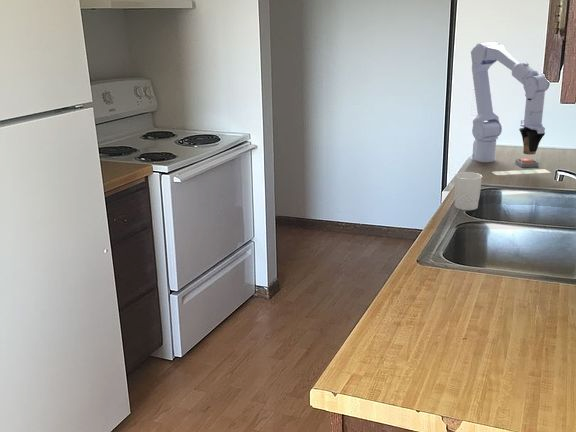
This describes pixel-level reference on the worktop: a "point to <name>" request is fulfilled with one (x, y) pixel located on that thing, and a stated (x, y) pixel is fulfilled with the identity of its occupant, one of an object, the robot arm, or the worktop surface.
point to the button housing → (518, 162)
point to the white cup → (467, 190)
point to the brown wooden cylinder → (527, 147)
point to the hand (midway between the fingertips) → (530, 149)
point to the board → (520, 172)
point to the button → (527, 160)
